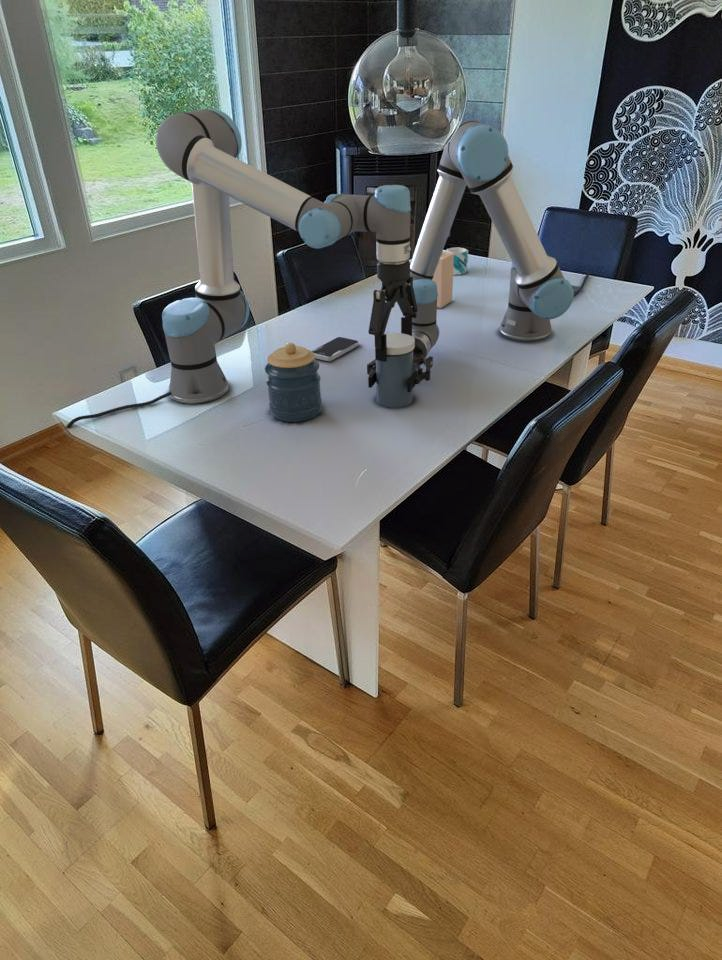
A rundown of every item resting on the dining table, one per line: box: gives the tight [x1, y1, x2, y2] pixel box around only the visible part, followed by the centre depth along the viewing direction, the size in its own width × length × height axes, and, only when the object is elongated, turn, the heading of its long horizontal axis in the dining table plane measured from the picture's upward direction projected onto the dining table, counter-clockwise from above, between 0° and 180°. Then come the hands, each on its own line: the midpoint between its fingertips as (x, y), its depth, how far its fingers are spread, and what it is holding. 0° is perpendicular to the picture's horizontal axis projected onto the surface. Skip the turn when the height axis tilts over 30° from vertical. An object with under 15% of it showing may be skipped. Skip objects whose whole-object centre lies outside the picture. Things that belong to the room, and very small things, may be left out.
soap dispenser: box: [432, 231, 454, 309], centre depth 227 cm, size 13×9×22 cm
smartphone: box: [311, 336, 359, 362], centre depth 198 cm, size 8×1×15 cm
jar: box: [375, 350, 414, 409], centre depth 166 cm, size 9×9×15 cm
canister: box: [264, 342, 323, 423], centre depth 161 cm, size 13×13×18 cm
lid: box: [373, 332, 415, 355], centre depth 162 cm, size 10×10×2 cm
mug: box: [445, 246, 469, 276], centre depth 261 cm, size 8×12×8 cm
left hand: (394, 351), depth 163 cm, fingers open, 11 cm apart
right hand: (389, 384), depth 163 cm, fingers closed on jar, 9 cm apart
